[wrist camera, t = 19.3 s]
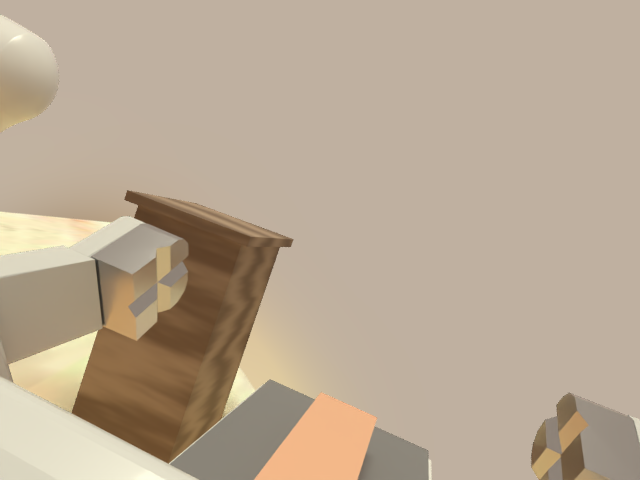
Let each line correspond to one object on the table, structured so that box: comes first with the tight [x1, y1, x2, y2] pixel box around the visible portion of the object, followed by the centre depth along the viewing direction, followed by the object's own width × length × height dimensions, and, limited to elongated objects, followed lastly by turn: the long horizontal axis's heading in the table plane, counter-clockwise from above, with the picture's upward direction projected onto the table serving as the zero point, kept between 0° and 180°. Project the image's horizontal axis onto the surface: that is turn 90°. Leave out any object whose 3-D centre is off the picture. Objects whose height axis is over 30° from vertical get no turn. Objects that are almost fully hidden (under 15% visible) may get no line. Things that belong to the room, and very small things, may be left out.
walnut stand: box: [72, 191, 293, 464], centre depth 52 cm, size 14×14×26 cm
